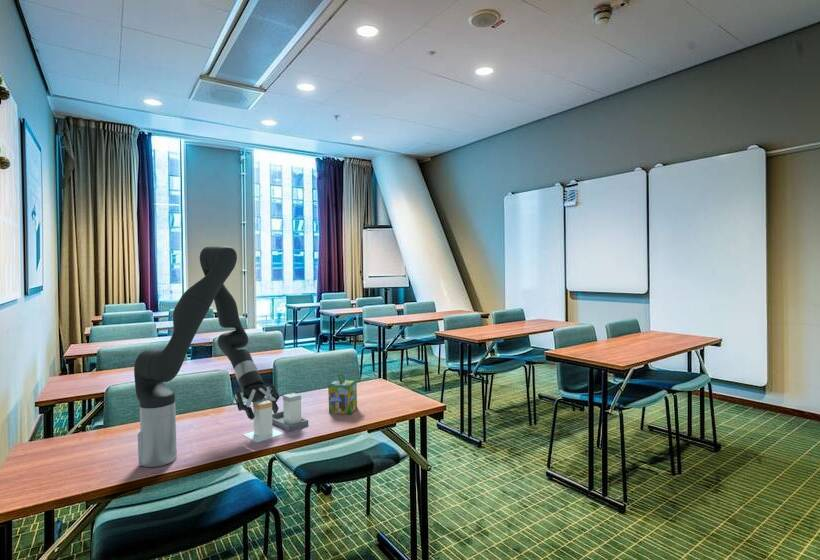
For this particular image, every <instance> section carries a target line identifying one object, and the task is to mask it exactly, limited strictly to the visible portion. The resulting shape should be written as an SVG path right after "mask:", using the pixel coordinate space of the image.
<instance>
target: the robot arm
mask: <svg viewBox="0 0 820 560" xmlns="http://www.w3.org/2000/svg"><path fill="white" fill-rule="evenodd" d="M199 253H200V254H199V263H200V266H201V269H202V273H203V275H204V277H202V278H200V280H199V281H196V283H194V284H193V285H192V286H190V287H189V288H188V289H187V290H185V292H184V293H183V294H181V295H182V296H180V298H179V300H178V301H177V304H176V305H175V307H174V309H173V311H172V327H173V329H172V330H173V331H172V335H171V337H170V339H169V341H168V343H167V345H166V346H165V348H164V349H146V350H143V351H141V352H140V353H139V354H138V355H137V357H136V359H135V361H134V365H133V367H134V368H133V376H134V386H135V395H136V398H137V400H138V402H139V427H140V428H139V429H140V431H139V432H138V433H137V455H138V456H137V457H138V467H145V468H146V467H147V468H155V467H156V468H157V467H161V466H164V465H168V464H171V463H173V462H175V461H176V459H177V458H178V455H177V453H178V452H177V451H178V450H177V424H176V423H177V420H176V419H177V418H176V394H175V392H174V390H171V389H170V388H169V387H167V386H166V385H165V383H168V382H170V381H172V380H173V379H175V377H176V376H177V375H178V373H179V372H180V370H181V368H182V366H183V363H184V361H185V359H186V356H187V354H188V351H189V349H190V346H191V344H192V342H193V339H194V338H195V336H196V335H197V332H198V330H199V327H201V324H202V322H203V321H204V320H205V318H206V315H207V314H208V312H209V310H210V308H211V305H212V304H213V302H214V304H215V307H216V313H217V320H218V324H219V326H220V327H221V328H225V329H227V328H228V329H229V328H234V329H235V330H232V331H228V332H224V333H221V334H219V336H218V337H217V346H218V347H219V349H220V351H221V352H222V353H223V354H224V355H225V356H226V357H227V358H228V360H229V361H230V364H231V365H232V369H233V370H234V374H235V378H236V380H237V383H238V385H239V387H240V390H241V392H240V391H236V392H235V395H234V400H235V403H236V407H237V410H238V411H244V412H245V414H246V416H247V418H248V419H249V420H250V421H252V420H253V421H254V417H255V416H254V413H253V409H252V408H253V407H251V404H252V403H253V402H257V401H261V400H265V399H266V400H268V401H271V402H272V414H275V413H278V411H279V406H278V404H277V402H278V401H279V399H280V395H279V394H278V391H277V389H276V387H275V385H274V384H272V383H271V384H270V386H265V384H264V381H263V379H262V376H261V374H260V371H259V369H258V367H257V365H256V364H255V362H254V360H253V358H252V357H253V356H251V353H250V352H249V350H247V349H243V348H245V347H246V346H248V343H249V336H248V334H247V332H246V330H245V328H244V327H243V325H242V322H241V320H240V315H239V311H238V310H239V309H238V305H237V302H236V300H235V298H234V296H233V295H232V294H231V292H230V291H229V289H228V288H227V287H226V285H225V282H226V281H227V279H228V278H229V276H230V275H231V274H232V273H233V270H234V269H235V268H236V264H237V260H238V255H237V251H236V250H235V248H234V247H231V246H227V245H226V246H225V245H219V246H218V245H217V246H215V245H211V246H210V245H209V246H205V247H204V248H202V249H201V251H200V252H199ZM243 398H245V400H246V403H244V401H243Z"/></svg>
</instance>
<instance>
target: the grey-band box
mask: <svg viewBox="0 0 820 560" xmlns="http://www.w3.org/2000/svg"><path fill="white" fill-rule="evenodd" d="M282 402H283V411H284V423H286V424H288V425H291V424H295V423H298V422H301V417H302V395H301V394H300V393H297V392H291V393H287V394H283V395H282Z"/></svg>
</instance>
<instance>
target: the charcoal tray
mask: <svg viewBox="0 0 820 560" xmlns="http://www.w3.org/2000/svg"><path fill="white" fill-rule="evenodd" d="M272 425H273V426H274V425H275V426H277V427H279V428H281V429H283V430H285V431H287V432H291V431H294V430H296V429H300V428H303V427H304V428H305V427H307V426H309V419H307V418H304V417H302V416H301V422H298V423H295V424H291V425H288V424H286V423H284V410H283V411H282V410H281V411H279V412H278V411H277V413H275V414H274V413H272Z"/></svg>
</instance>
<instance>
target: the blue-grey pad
mask: <svg viewBox="0 0 820 560" xmlns="http://www.w3.org/2000/svg"><path fill="white" fill-rule="evenodd" d="M272 428H273V427H272ZM284 434H285V433H283V432H282V431H280V430H278V429H276V428H273V434H270V435H267V436H264V437H261V438H260V437H258V436H256V435H254V430H253V431H250V432H246V433H243V434H242V436H244V437H245V438H247V439H249V440H251V441H252V442H255V443H256V444H257V443H260V442H264V441H266V440H269V439H272V438H275V437H279V436H283V435H284Z"/></svg>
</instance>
